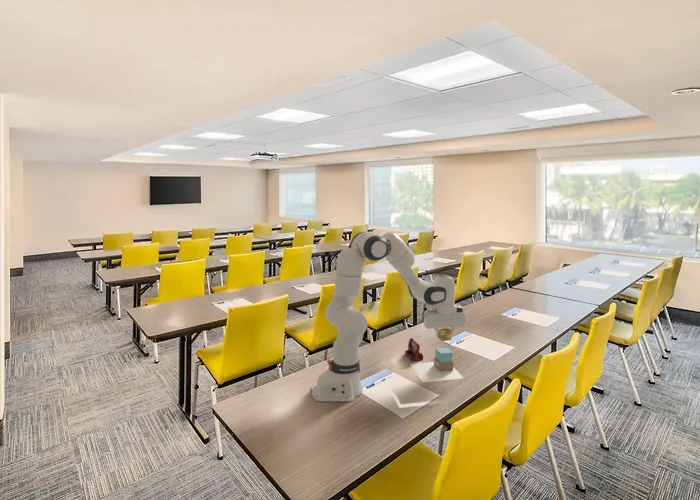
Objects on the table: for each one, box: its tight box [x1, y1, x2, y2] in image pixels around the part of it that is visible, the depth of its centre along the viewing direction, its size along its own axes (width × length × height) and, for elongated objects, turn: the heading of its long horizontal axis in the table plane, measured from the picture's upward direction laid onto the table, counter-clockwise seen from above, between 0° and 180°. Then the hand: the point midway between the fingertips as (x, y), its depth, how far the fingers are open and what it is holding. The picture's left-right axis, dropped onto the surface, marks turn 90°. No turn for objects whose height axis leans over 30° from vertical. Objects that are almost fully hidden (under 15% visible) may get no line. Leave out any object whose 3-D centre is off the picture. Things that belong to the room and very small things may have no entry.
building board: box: [409, 357, 464, 384], centre depth 186 cm, size 20×19×5 cm
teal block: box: [434, 347, 453, 363], centre depth 189 cm, size 6×6×5 cm
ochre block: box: [437, 327, 452, 342], centre depth 187 cm, size 5×5×5 cm
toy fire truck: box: [404, 338, 424, 362], centre depth 202 cm, size 7×12×10 cm, turn 12°
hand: (444, 335), depth 187 cm, fingers closed on ochre block, 5 cm apart
